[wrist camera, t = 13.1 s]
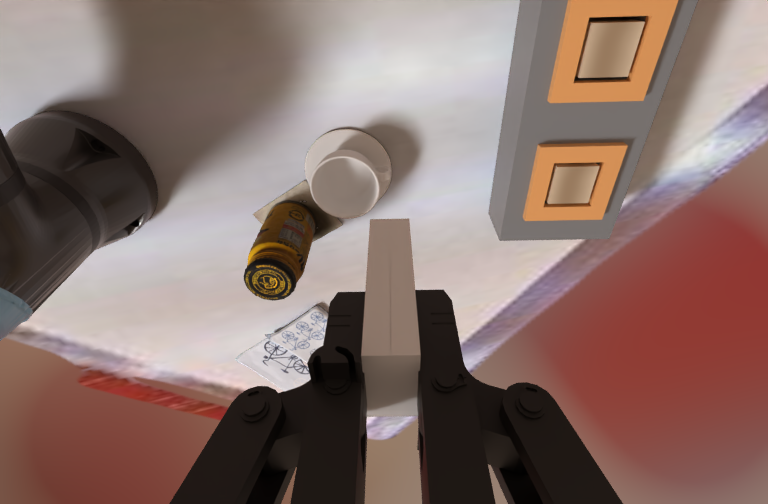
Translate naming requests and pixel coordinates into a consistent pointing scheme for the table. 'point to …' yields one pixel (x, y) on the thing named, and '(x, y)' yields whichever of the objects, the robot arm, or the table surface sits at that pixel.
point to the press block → (577, 114)
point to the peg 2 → (609, 47)
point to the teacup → (347, 172)
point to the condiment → (285, 242)
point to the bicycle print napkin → (288, 351)
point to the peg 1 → (571, 182)
